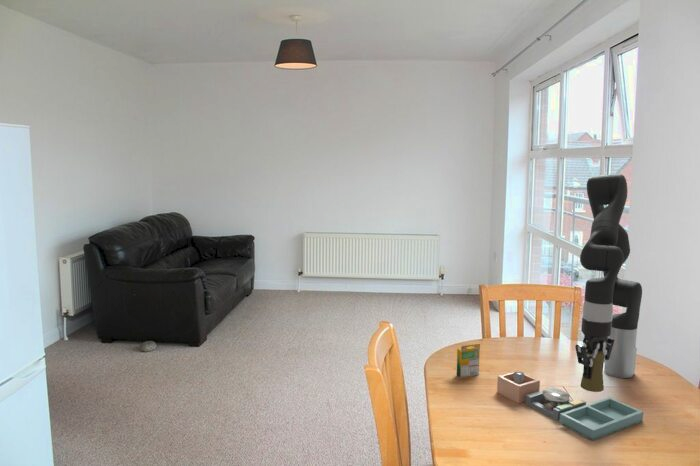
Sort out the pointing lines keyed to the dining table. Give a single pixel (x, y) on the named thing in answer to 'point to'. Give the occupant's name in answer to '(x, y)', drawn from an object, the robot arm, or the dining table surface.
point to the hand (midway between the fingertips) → (592, 376)
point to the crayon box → (468, 360)
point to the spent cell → (518, 377)
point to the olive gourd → (595, 375)
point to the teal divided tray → (601, 418)
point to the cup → (517, 387)
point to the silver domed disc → (555, 396)
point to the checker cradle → (536, 399)
